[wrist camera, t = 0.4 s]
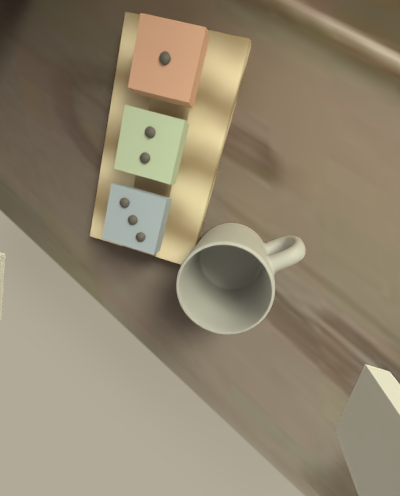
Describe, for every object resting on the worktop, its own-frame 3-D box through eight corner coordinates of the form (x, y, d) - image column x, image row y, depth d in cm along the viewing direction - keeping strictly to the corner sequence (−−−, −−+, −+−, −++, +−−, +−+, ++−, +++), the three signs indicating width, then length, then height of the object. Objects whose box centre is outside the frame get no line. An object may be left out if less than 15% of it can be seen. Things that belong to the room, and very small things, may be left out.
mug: (213, 298, 35) (199, 348, 24) (185, 239, 34) (157, 263, 23) (305, 264, 32) (335, 304, 21) (278, 198, 31) (295, 204, 20)
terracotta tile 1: (155, 37, 28) (139, 11, 23) (212, 50, 27) (205, 25, 23) (143, 100, 29) (126, 86, 25) (196, 114, 28) (188, 102, 24)
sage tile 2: (141, 115, 29) (123, 104, 25) (193, 128, 29) (184, 119, 25) (130, 170, 31) (113, 168, 27) (180, 184, 30) (169, 184, 26)
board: (133, 22, 29) (125, 11, 27) (250, 49, 28) (250, 39, 26) (98, 233, 35) (89, 236, 33) (192, 262, 34) (189, 267, 32)
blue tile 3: (128, 183, 31) (110, 183, 27) (176, 197, 31) (166, 199, 27) (119, 232, 33) (100, 239, 29) (165, 246, 32) (153, 255, 28)
